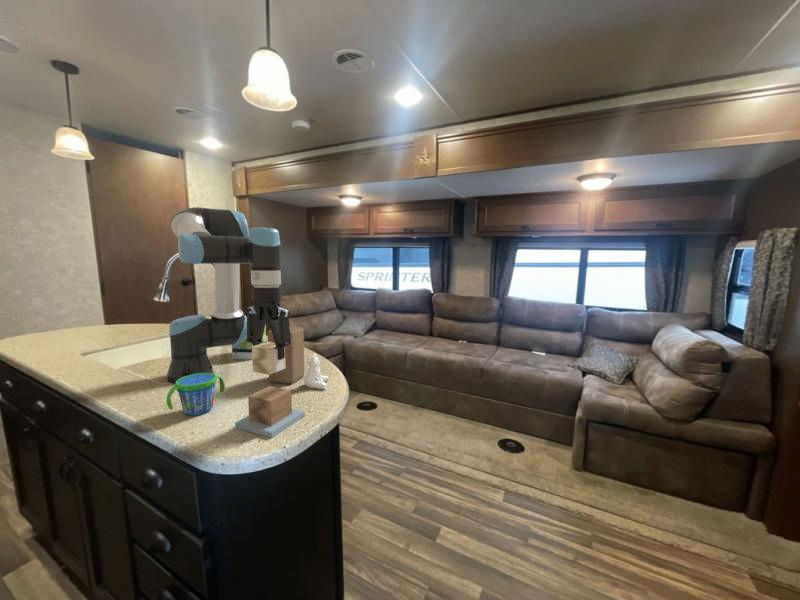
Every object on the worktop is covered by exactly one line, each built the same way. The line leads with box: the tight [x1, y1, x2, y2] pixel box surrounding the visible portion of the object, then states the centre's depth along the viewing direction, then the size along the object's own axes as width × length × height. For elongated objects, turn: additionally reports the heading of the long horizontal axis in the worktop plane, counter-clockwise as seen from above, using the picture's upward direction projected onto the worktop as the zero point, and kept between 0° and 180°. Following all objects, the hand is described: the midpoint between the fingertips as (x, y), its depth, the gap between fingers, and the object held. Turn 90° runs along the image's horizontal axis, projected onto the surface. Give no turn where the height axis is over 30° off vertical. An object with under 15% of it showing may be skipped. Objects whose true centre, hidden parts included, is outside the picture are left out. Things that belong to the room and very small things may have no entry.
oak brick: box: [251, 341, 286, 376], centre depth 91 cm, size 6×6×7 cm
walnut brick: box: [247, 385, 293, 426], centre depth 93 cm, size 8×8×7 cm
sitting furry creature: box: [303, 353, 329, 391], centre depth 120 cm, size 10×9×12 cm
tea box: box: [231, 323, 267, 361], centre depth 156 cm, size 15×10×15 cm, turn 179°
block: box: [266, 325, 305, 385], centre depth 125 cm, size 10×10×20 cm
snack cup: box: [166, 373, 226, 416], centre depth 99 cm, size 16×10×10 cm
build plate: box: [234, 408, 306, 439], centre depth 93 cm, size 13×13×2 cm
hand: (269, 368), depth 91 cm, fingers closed on oak brick, 6 cm apart
